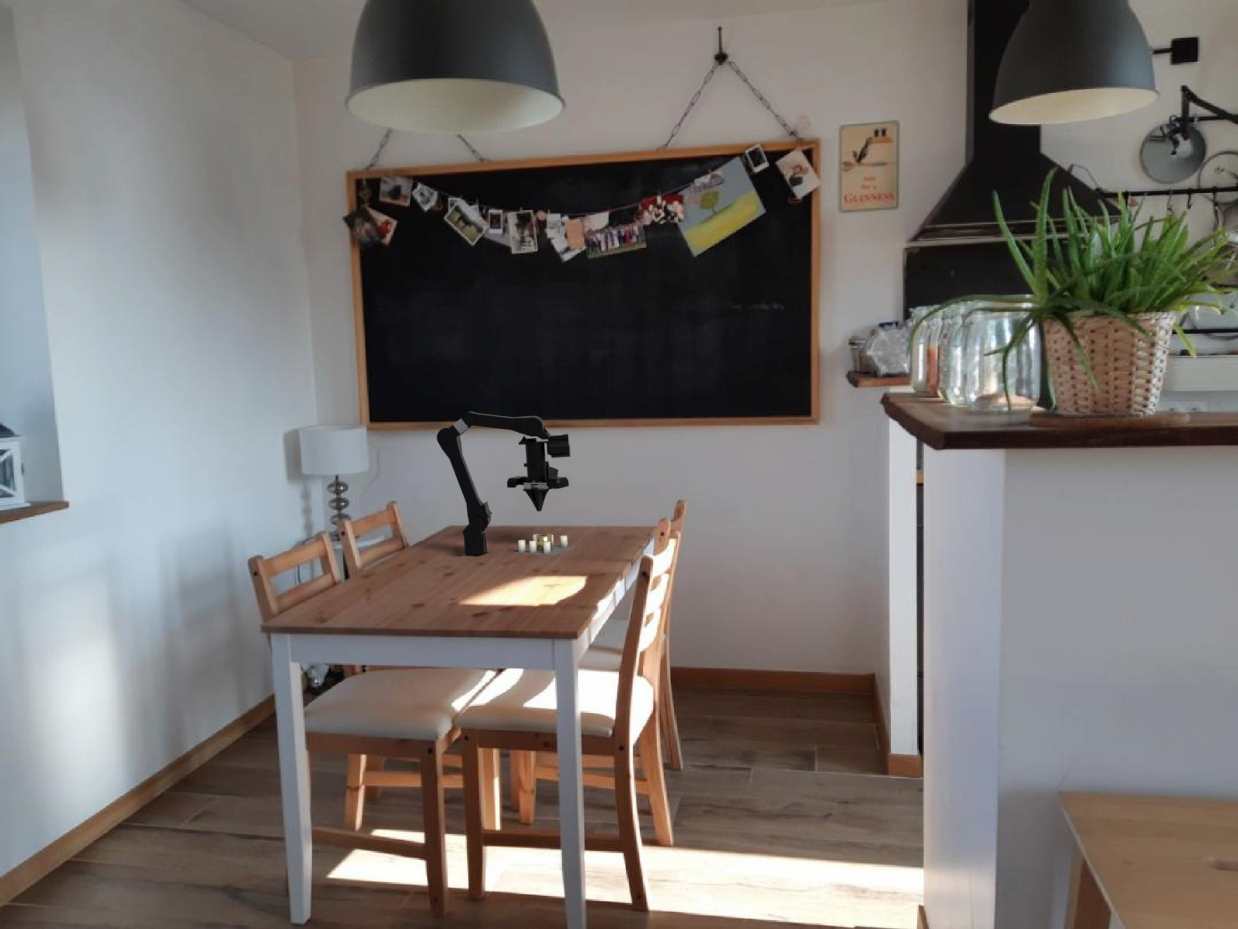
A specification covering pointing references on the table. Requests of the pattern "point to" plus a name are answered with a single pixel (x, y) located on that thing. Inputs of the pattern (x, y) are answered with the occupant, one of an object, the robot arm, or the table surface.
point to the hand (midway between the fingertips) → (539, 511)
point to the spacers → (546, 545)
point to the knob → (542, 538)
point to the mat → (553, 552)
